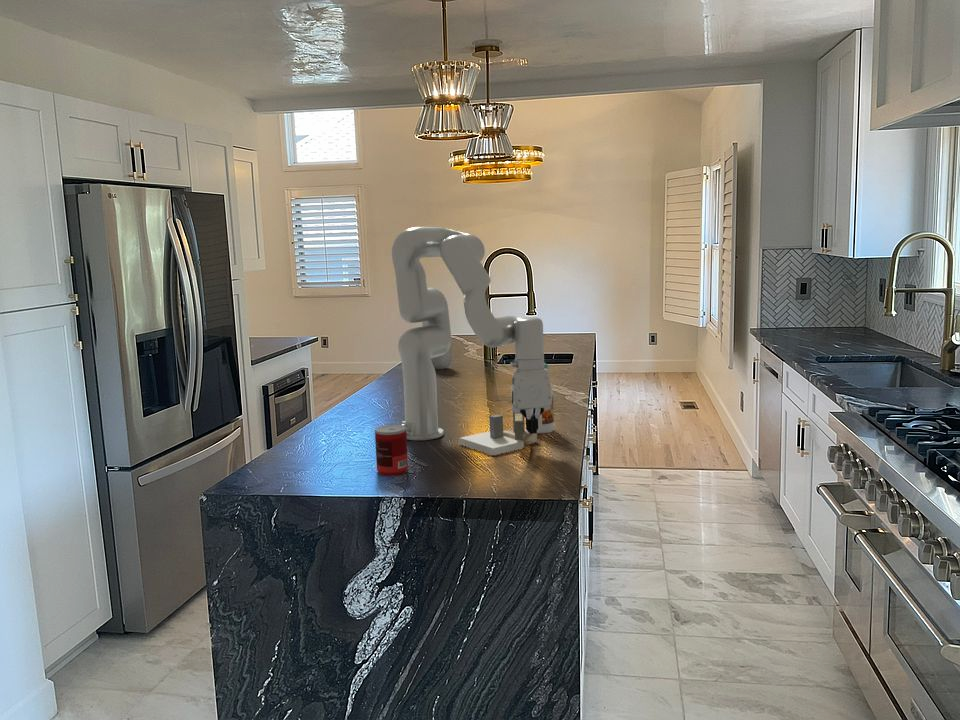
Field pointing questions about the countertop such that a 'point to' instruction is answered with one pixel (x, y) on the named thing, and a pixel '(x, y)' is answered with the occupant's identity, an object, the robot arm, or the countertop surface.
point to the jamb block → (526, 436)
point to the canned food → (391, 450)
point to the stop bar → (518, 425)
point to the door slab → (492, 439)
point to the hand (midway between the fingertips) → (532, 432)
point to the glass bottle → (442, 360)
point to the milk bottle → (546, 416)
